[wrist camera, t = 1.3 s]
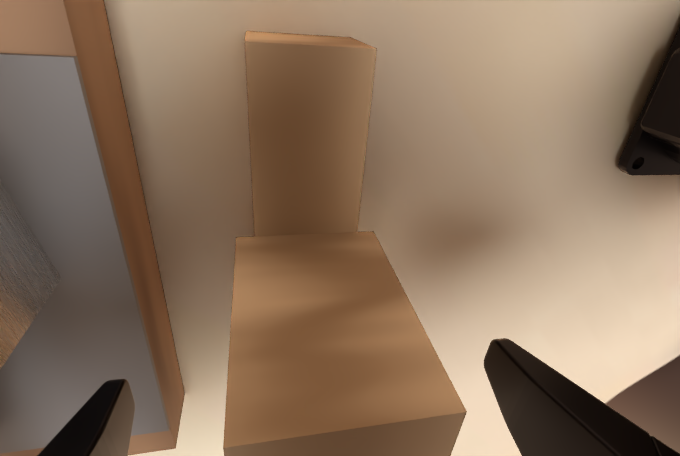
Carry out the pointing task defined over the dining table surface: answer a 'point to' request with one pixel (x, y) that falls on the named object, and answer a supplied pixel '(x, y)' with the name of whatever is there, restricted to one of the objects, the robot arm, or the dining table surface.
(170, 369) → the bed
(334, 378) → the tan inverted t block
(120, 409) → the robot arm
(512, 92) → the dining table surface
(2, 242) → the pale grey cube
